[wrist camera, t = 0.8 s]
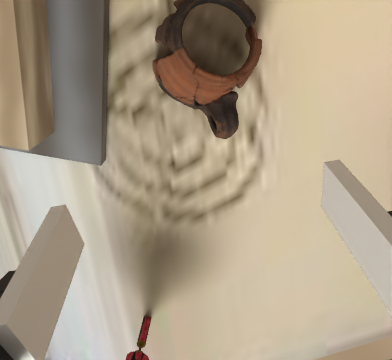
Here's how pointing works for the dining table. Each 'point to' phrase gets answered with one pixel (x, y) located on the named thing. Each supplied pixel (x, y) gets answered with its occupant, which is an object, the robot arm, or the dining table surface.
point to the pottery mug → (200, 79)
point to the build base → (54, 78)
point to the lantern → (141, 342)
